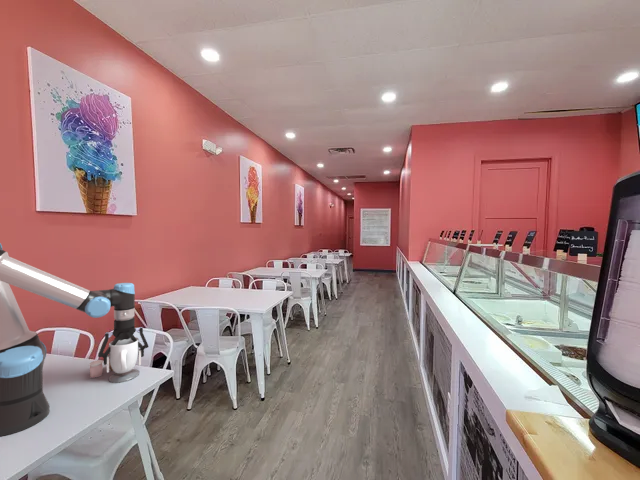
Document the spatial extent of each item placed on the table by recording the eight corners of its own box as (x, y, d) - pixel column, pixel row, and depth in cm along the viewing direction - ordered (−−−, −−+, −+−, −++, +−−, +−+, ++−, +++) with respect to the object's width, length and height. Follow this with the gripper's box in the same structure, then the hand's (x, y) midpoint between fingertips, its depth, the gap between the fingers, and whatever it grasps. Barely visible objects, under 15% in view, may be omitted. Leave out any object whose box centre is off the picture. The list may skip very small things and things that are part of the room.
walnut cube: (111, 371, 130) (111, 362, 130) (108, 368, 132) (108, 360, 132) (121, 368, 133) (121, 359, 133) (118, 365, 136) (118, 357, 136)
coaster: (109, 385, 118) (109, 384, 118) (108, 375, 127) (108, 373, 127) (140, 377, 124) (140, 376, 124) (138, 368, 133) (138, 367, 133)
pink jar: (89, 379, 123) (89, 365, 123) (89, 374, 127) (89, 361, 127) (102, 375, 126) (102, 363, 126) (102, 371, 129) (102, 359, 129)
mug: (139, 375, 121) (139, 345, 121) (107, 382, 115) (107, 351, 115) (138, 362, 134) (138, 335, 134) (109, 368, 128) (109, 339, 128)
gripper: (90, 325, 115) (90, 378, 115) (155, 316, 129) (155, 363, 129) (90, 320, 121) (90, 371, 121) (153, 312, 135) (153, 358, 135)
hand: (124, 367), depth 125 cm, fingers open, 11 cm apart
